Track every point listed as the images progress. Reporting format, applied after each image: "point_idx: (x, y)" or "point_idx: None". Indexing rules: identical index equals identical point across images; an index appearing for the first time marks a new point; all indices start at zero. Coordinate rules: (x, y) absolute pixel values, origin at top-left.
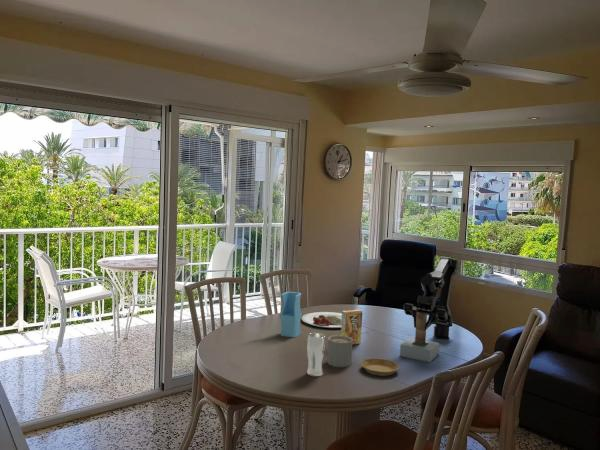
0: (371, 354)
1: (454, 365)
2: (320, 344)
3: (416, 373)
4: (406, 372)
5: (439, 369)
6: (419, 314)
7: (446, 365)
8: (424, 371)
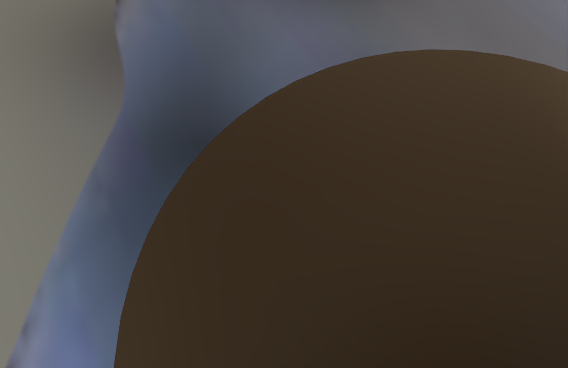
0: (557, 67)
1: (37, 333)
2: None
3: (180, 34)
4: (225, 9)
5: (101, 177)
6: (394, 69)
7: (85, 284)
8: (159, 85)
